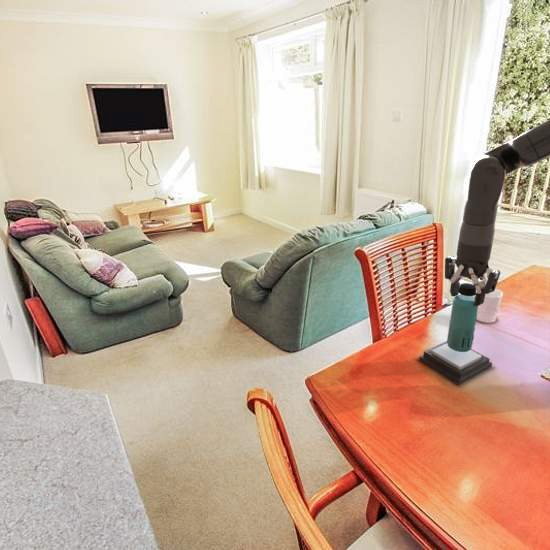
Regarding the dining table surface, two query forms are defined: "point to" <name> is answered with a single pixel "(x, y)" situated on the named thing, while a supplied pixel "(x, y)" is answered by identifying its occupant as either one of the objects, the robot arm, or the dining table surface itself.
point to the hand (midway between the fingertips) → (465, 299)
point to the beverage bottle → (463, 319)
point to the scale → (452, 371)
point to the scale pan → (456, 356)
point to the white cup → (490, 307)
